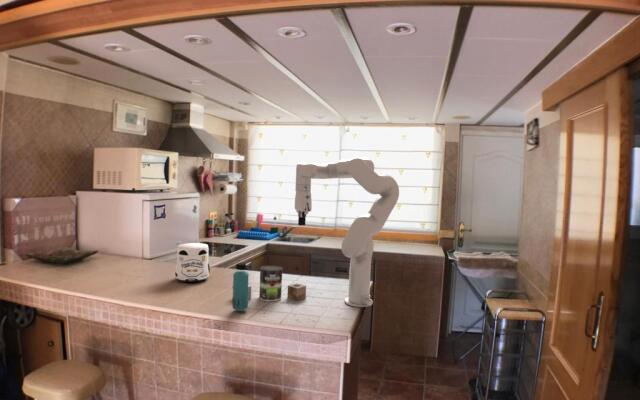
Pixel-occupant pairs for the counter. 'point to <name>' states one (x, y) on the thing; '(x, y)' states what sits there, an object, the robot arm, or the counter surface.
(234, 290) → the beverage bottle
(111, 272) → the counter surface
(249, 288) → the grey dotted block
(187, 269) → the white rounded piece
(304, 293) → the walnut dotted block
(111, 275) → the counter surface
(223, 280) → the counter surface
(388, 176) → the robot arm
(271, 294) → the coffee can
